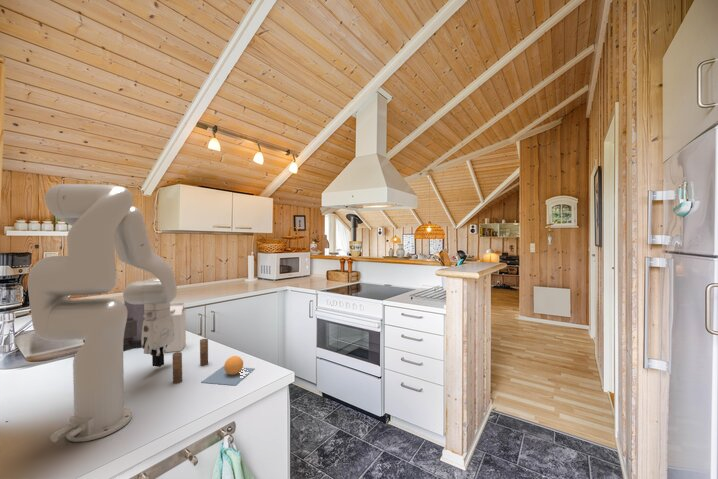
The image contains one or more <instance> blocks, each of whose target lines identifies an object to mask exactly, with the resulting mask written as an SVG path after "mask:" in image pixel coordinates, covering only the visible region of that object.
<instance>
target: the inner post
mask: <svg viewBox="0 0 718 479" xmlns="http://www.w3.org/2000/svg"><path fill="white" fill-rule="evenodd" d="M182 382H183V353H182V351H176V352H173V353H172V384H179V383H182Z"/></svg>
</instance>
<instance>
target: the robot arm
mask: <svg viewBox="0 0 718 479" xmlns="http://www.w3.org/2000/svg"><path fill="white" fill-rule="evenodd" d="M133 200H134V197H133V193H132V191H131V190H129V188H127V187H124V186H122V185H117V184H116V185H115V184H100V183H99V184H97V183H94V184H93V183H92V184H91V183H90V184H89V183H84V184H83V183H59V184H58V183H57V184H54V185H52V186H51V187H50V188H48V190H46V193H45V195H44V202H45V206H46V207H47V209H48V211H49V213H51V214H52V216H54V217H55V218H57V219H59V220H61V221H62V222H64V223H65V224H68V225H69V226H71V227H70V228H69V230H68V233H67V235H66V245H67V248H66V249H67V255H52V256H51V255H50V256H45V257H43V258H41V259H39V260H37V261H36V262H35V263H34V264H33V266H31V269H30V271H29V273H28V277H27V292H28V293H27V294H28V299H29V301H28V302H29V307H30V316H31V322H32V327H33V330H34V333H35V335H36V336H37V337H38V338H40V339H42V340H44V341H54V342H55V341H71V340H78V341H79V340H82V341H83V340H85V343H84V342H83V344H82V345H81V347H80V348H79V349H78V350H77V352H76V353H75V355H74V358H73V360H72V362H73V363H72V376H73V377H72V378H73V380H72V381H73V382H72V383H73V415H72V416H71V417H69V419H68V423H67V424H66V425H65V426H64V427H63V428H60V429H58V430H57V431H55V432H53V433H52V434H51V435H50V437H49V438H50V441H51V442H53V443H56V442H58V441H60V440H61V439H64V438H66V439H67V440H68V441H69V442H77V443H81V442H89V441H94V440H97V439H100V438H103V437H106V436H108V435H110V434H113V433H115V432H116V431H118V430H121V429H122V428H123V427H125V426H126V425H127V424H128V423H129V422H130V421H131V419H132V416H133V411H132V410H131V409H130V408H128V407H125V380H124V379H125V378H124V376H125V375H124V374H125V371H124V351H123V341H124V332H125V326H126V321H127V315H128V311H127V307H126V306H125V304H124V302H123V301H124V300H125V301H126V302H127V303H129V304H134V305H141V304H144V315H143V317H144V318H145V320H144V321H143V326H142V337H141V343H142V350H143V354H144V355H150V356H151V358H152V360H151V361H152V367H156V368H157V367H159V368H160V367H162V366H164V365H165V354H166V352H165V351H166V347H167V346H168V345H169V344H170V343H171V342H173V341H174V338H175V333H174V323H173V318H172V315H171V314H170V303H171V302H172V301H174V300H175V299H176V297H177V293H178V288H177V282H176V278H175V274H174V271H173V268H172V267H171V266H170V265H169V264H168V263H167V262H166V260H165V259H163V258H162V257H161V256H159V255H158V254H157V253H155V252H154V251H153V249H152V246H151V243H150V242H151V241H150V239H149V235H148V231H147V226H146V223H145V219H144V215H143V213H142V211H141V210H140V208H138V207H136V206H133V204H134V203H133V202H134V201H133ZM116 255H117V259H118V260H119V261H121V262H122V263H124V264H125V265H128V266H132V267H135V268H138V269H140V270H143V271H146V272H149V273H150V274H152V275H153V276H155V277H152V278H151V277H150V278H147V279H146V280H136V281H131V282H130V283H128V284H127V285H126V286H125V287H124V290H123V292H122V296H123V301H121V300H119V299H114V298H107V297H105V298H83V299H80V298H79V299H69V297H71V296H75V297H77V296H95V295H97V296H98V295H103V294H107V293H109V292H110V291H112V290H113V289H115V286H116V284H117V264H116V262H117V261H116ZM172 303H173V302H172Z"/></svg>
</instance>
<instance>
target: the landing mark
mask: <svg viewBox="0 0 718 479" xmlns="http://www.w3.org/2000/svg"><path fill="white" fill-rule="evenodd" d="M243 368H244V369H246V370H244V369H242V371H243V370H244V371H245V372H249V373H250V372H251V371H252V372H253V371H254V370H256V369H255V367H254V368H253V367H243ZM247 370H248V371H247ZM240 372H241V371H240ZM252 372H251V373H252ZM241 373H243V372H241ZM249 373H248V374H245V375H246V376H243V375H240V373H238V374H236V375H229V374H227V373H226V371H225V369H224V365H223V366H222V367H220V368H219V369H217V370H216V371H215V372H213V373H211V374H210V375H208V377H206V378H205V379H204V380H202V381H201V384H202V383H203V384H213V385H222V384H223V385H222V386H233V385H236V386H237V385H238V384H240V381H241V380H242V379H243V378H240V376H243V377H245V378H246V377H247V376H248V375H250V374H251V373H250V374H249ZM243 380H244V379H243ZM243 380H242V381H243ZM242 381H241V382H242Z"/></svg>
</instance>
